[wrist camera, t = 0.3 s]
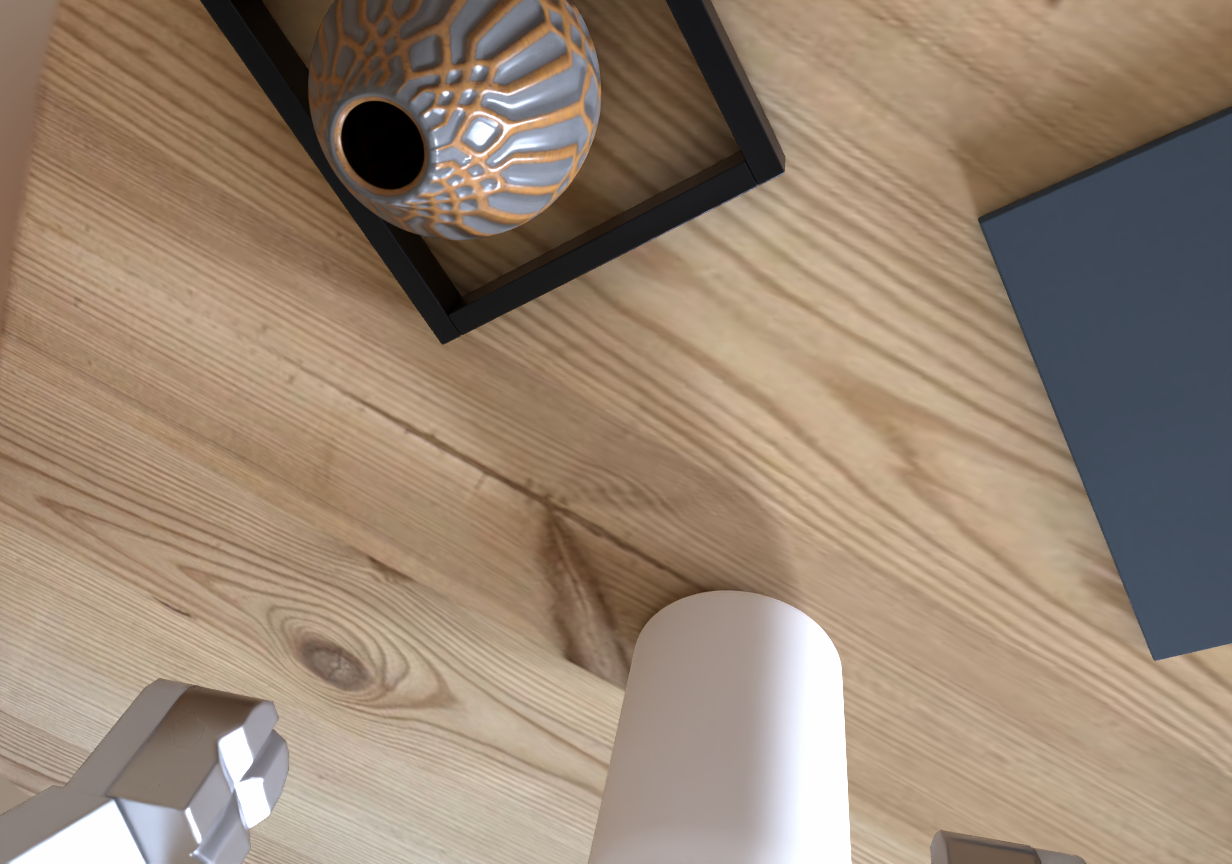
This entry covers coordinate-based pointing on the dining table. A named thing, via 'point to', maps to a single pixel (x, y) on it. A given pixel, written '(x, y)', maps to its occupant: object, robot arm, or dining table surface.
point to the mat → (1141, 362)
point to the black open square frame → (453, 315)
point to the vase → (455, 108)
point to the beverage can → (728, 740)
